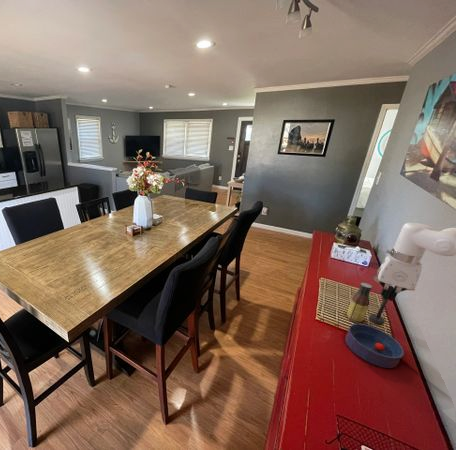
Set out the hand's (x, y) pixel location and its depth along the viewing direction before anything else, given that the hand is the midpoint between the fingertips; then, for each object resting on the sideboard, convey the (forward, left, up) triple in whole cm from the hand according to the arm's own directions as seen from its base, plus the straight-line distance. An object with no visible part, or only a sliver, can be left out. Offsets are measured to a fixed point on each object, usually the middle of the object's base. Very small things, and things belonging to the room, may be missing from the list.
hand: (386, 297), depth 93 cm
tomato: (-3, -3, -23) cm, 24 cm away
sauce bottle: (+14, -10, -25) cm, 30 cm away
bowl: (-2, 0, -25) cm, 25 cm away
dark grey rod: (0, 0, -12) cm, 12 cm away
